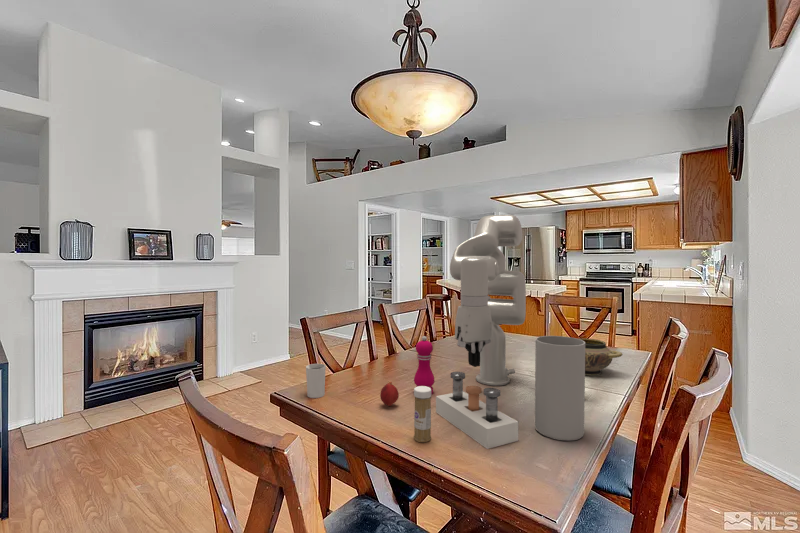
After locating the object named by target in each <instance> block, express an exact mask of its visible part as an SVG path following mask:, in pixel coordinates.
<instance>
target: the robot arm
mask: <svg viewBox="0 0 800 533" xmlns="http://www.w3.org/2000/svg"><path fill="white" fill-rule="evenodd" d="M474 230H475V231H474V234H473V236H472V237H471V238H468V239H467V240H465V241H463V242H462V243H460V244H459V245H458V246H457V247H455V249H454V250H453V251H454V252H453V254H452V256H451V259H450V262H449V273H450V275H451V278H452V279H453V280H456V281H460V305H458V306H457V311H456V316H455V323H454V324H455V326H454V339H455V340H457V345H456V346H458V347H460V348H464V349H465V350H466V351H467V357H468V359H467V361H468V365H469V366H472V367H474V368H477V367H479V373H478V374H477V375H476V376H475V380H476V381H477V383H480V384H482V385H487V386H496V387H498V386H506V385H508V384H509V383H510V377H509V376H510V375H512V374H513V375H515V374H516V370H515V368H509V369H508V368H507V367H506V348H507V347H506V346H507V344H506V343H507V342H506V341H507V338H506V333H505V331H504V330H503V329H502V327H501V326H500V325H508V326H520V325H521V326H522V325H523V324H524V323H525V321H526V315H527V314H526V312H527V309H526V306H527V305H526V304H527V298H526V297H527V291H526V290H527V286H526V285H527V284H526V277H525V274H524V273H523V272H522V271H519V270H506V262H507V261H506V256H505V255H504V253H503V251H501V249H499V247H518V246H519V245H521V244H522V243H523V236H524V235H523V228H522V225H521V222H520V220H519V217H517V216H516V215H514V214H493V215H492V214H490V215H485V216H482V217H481V218H480V219H479V220H478V222H477V224H476V227H475V229H474ZM490 295H491V296H506V297H507V296H508V297H512V299H507V298H506V299H505V298H491V296H490Z"/></svg>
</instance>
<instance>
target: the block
mask: <svg viewBox="0 0 800 533" xmlns="http://www.w3.org/2000/svg"><path fill="white" fill-rule="evenodd" d="M435 413H436V414H438V415H439V416H441V417H442V419H445V420H446V421H448V422H449V423H450V424H451V425H453V426H454V427H456V428H457V429H458V430H461V431H462V432H463V433H464V434H466V435H467V436H468V437H470V438H471V439H472V440H474V441H475V442H477V443H478V444H480V445H481V446H482V447H484V449H487V450H488V449H492V448H496V447H499V446H503V445H504V446H505V445H507V444H511V443H514V442H518V441H519V421H518V420H516V419H515V418H512V417H510V416H509V415H507V414H505V413H504V412H502V411H499V410H498V421H497V422H492V423H490V422H488V421H487V420H486V402H484V401H482V400H480V399H479V410H477V411H473V412H472V411H470V410H469V409H468V393H467V392H466V391H465V390H463V400H462V401H457V402H456V401H454V400H453V392H451V393H446V394H440V395H435Z"/></svg>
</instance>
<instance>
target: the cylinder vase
mask: <svg viewBox="0 0 800 533" xmlns="http://www.w3.org/2000/svg"><path fill="white" fill-rule="evenodd" d="M580 339H581V338H577V337H576V338H575V337H571V336H563V335H561V336H559V335H543V336H541V335H540V336H538V337H535V348H534V349H535V352H534V354H535V364H534V365H535V368H534V370H535V371H534V372H535V374H534V376H535V379H534V383H535V384H534V427H535V429H536V430H537V432H538V433H540V434H541V435H542V436H545V437H548V438H550V439H553V440H556V441H557V440H558V441H567V442H569V441H577V440H579V439H581V438H583V436H584V435H585V406H586V405H585V401H586V400H585V395H586V394H585V393H586V392H585V389H586V386H585V385H586V383H585V382H586V375H585V342H584V341H583V340H580Z"/></svg>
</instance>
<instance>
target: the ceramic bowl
mask: <svg viewBox="0 0 800 533" xmlns="http://www.w3.org/2000/svg"><path fill="white" fill-rule="evenodd" d="M579 339H580V340H583V341H584V342H585V376H599V375H601V374H602V371H601V370H604V369H606V368H608V367H609V366H610V364H611V363H612V361H613V359H615V358H620V357H622V356H623V353H622V352H621V351H618V350H613V349H610V348H608V347H607V343H606V342H605V341H603V340H601V339H594V338H579Z"/></svg>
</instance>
